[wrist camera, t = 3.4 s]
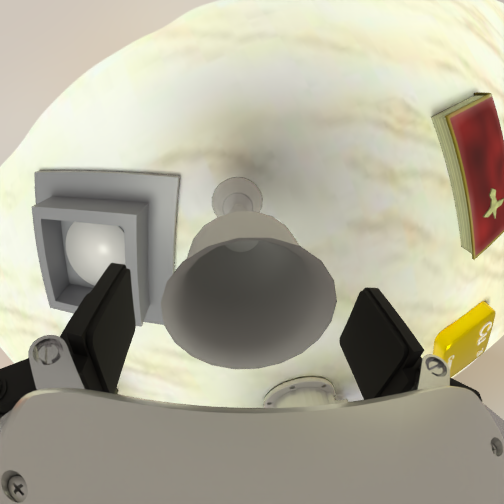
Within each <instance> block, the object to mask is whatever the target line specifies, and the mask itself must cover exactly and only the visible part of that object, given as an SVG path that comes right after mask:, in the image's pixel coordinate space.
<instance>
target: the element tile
mask: <svg viewBox="0 0 504 504" xmlns="http://www.w3.org/2000/svg"><path fill="white" fill-rule="evenodd" d="M494 318H495V311H494V310H493V309H492V308H491V307H490V306H489V305H488V304H487V303H486V302H485V301H483V302H481V303H479V304H478V305H477V306H475V307H474V308H473V309H472V310H470V311H469V312H468V313H466V314H465V315H464V316H462V317H461V318H459V319H458V320H457V321H455V322H454V323H452V324H451V325H449V326H448V327H447V328H445V329H444V330H442V331H441V332H440V333H439V334H438V335H437V337H436V338H435V341H434V350H433V355H436V356H438V357H440V358H442V359H443V360H444V361H445V362H446V363H447V365H448V367H449V369H450V378H451V377H452V376H454V375H455V374H456V373H458V372H459V371H461V370H462V369H463V368H465V367H466V366H467V365H469V364H470V363H471V362H473V361H474V360H475V359H476V358H478V357H479V356H480V355H481V354H482V353H483V352H484V351H485V349H486V347H487V343H488V340H489V337H490V333H491V330H492V326H493V322H494Z"/></svg>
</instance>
